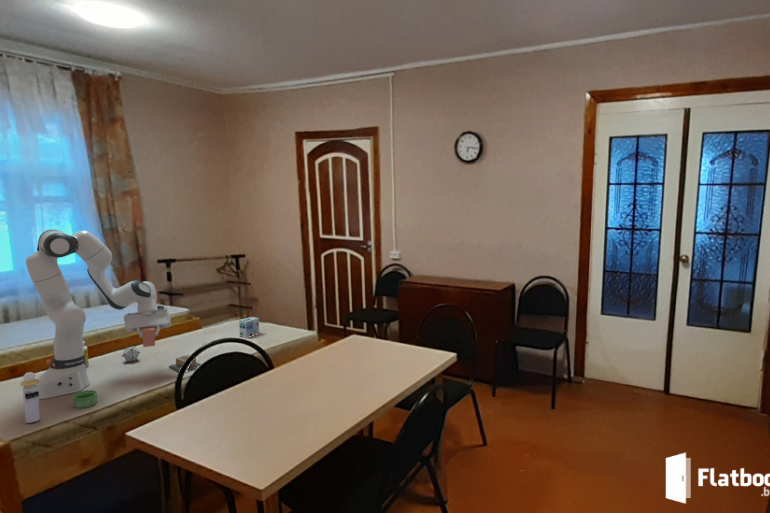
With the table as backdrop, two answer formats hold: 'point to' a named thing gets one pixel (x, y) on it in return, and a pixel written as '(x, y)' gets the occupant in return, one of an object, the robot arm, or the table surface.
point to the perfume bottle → (31, 397)
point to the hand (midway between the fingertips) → (148, 336)
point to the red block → (148, 337)
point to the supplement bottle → (85, 354)
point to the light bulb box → (249, 326)
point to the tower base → (181, 361)
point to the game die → (131, 354)
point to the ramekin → (85, 398)
